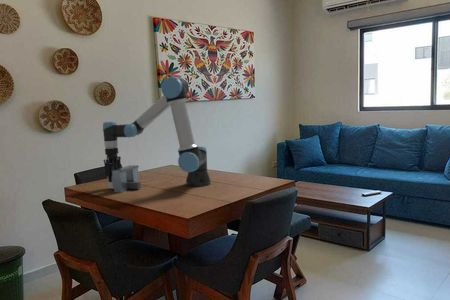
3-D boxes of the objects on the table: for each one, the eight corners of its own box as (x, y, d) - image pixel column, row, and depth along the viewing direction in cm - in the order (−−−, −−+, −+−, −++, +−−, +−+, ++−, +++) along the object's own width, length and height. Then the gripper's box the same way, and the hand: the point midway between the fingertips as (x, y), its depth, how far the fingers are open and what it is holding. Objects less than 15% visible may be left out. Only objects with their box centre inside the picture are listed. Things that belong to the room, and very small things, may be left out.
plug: (141, 187, 223) (140, 170, 222) (137, 189, 218) (135, 172, 217) (113, 186, 230) (111, 170, 229) (108, 188, 225) (106, 171, 224)
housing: (140, 185, 231) (138, 165, 229) (122, 192, 214) (120, 170, 212) (131, 185, 233) (129, 165, 231) (113, 192, 216) (111, 170, 215)
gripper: (115, 145, 233) (118, 182, 236) (96, 149, 216) (99, 189, 219) (125, 145, 231) (128, 183, 233) (106, 149, 214) (110, 189, 217)
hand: (114, 185), depth 226 cm, fingers closed on plug, 5 cm apart
